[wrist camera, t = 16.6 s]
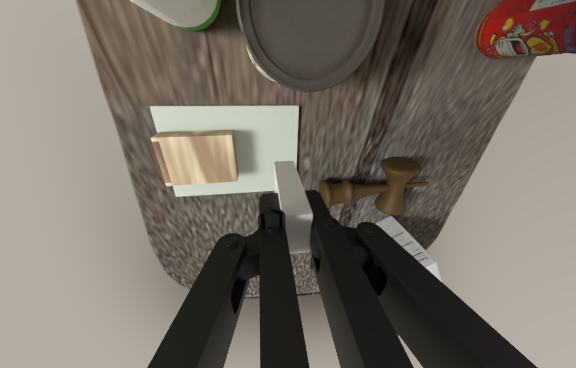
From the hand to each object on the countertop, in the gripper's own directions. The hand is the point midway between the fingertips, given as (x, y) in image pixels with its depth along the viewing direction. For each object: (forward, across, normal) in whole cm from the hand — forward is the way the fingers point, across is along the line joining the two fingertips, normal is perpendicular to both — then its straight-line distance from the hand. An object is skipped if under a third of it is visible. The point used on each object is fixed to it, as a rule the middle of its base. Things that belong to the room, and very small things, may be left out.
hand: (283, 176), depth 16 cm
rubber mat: (+17, -6, -4) cm, 18 cm away
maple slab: (+15, -6, -4) cm, 16 cm away
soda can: (+18, +32, +12) cm, 39 cm away
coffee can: (+18, +2, +11) cm, 21 cm away
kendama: (+18, +18, -11) cm, 28 cm away
